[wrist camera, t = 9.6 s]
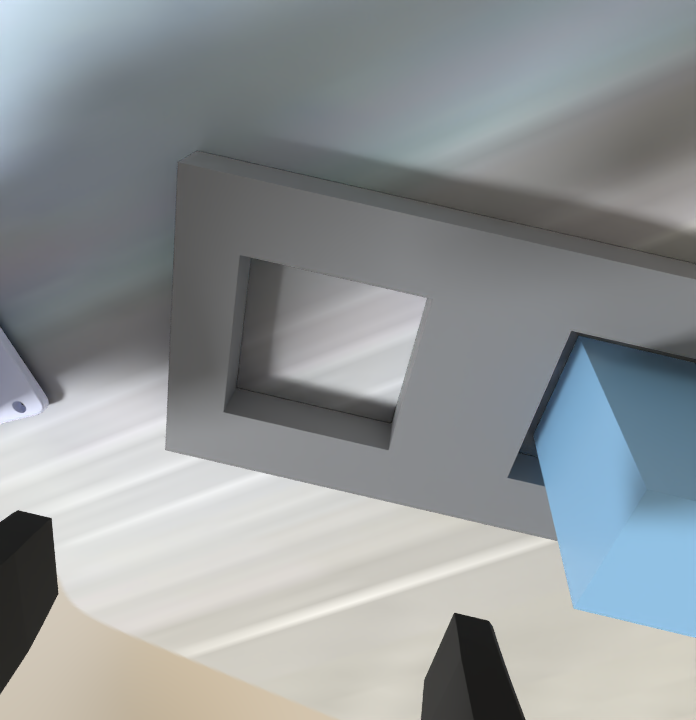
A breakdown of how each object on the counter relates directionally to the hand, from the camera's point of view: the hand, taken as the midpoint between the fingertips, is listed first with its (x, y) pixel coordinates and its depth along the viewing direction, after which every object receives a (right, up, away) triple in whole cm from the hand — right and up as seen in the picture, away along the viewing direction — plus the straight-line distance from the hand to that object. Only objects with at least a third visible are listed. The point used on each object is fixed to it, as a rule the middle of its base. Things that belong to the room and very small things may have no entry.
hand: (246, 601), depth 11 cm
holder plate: (+6, +4, +9) cm, 11 cm away
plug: (+11, +3, +9) cm, 14 cm away
